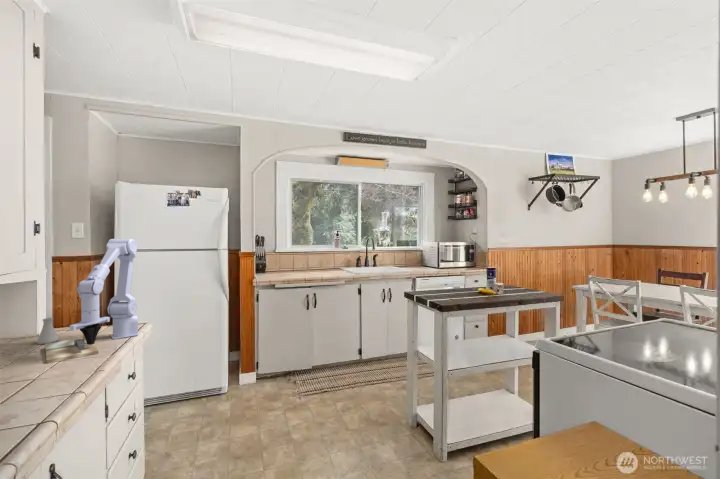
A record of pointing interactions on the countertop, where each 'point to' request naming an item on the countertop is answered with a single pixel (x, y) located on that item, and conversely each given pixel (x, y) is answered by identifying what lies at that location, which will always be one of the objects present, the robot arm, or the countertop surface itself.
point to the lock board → (68, 350)
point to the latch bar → (79, 343)
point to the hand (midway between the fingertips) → (90, 344)
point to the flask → (47, 332)
